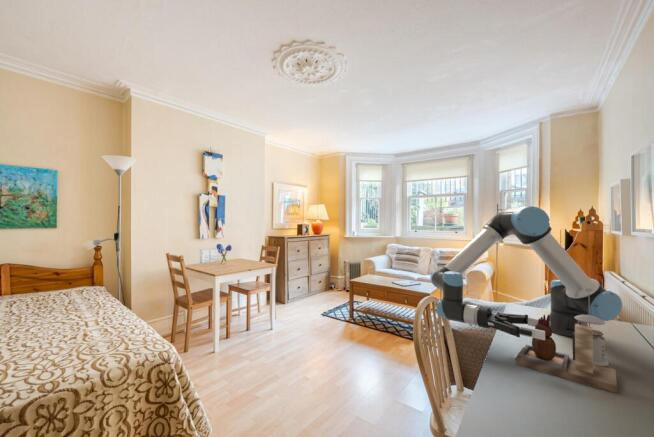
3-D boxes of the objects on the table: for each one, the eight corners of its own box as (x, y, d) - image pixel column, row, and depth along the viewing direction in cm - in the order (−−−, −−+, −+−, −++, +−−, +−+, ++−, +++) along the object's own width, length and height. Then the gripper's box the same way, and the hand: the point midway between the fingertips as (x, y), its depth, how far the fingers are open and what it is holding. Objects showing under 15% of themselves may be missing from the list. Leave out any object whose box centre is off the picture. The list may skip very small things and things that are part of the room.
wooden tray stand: (515, 363, 96) (515, 318, 97) (523, 352, 106) (522, 311, 106) (617, 393, 80) (616, 338, 80) (615, 376, 89) (614, 327, 90)
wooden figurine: (559, 363, 92) (559, 316, 93) (539, 361, 93) (539, 315, 94) (547, 354, 99) (547, 310, 99) (529, 352, 100) (528, 309, 101)
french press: (579, 362, 98) (578, 289, 99) (564, 349, 109) (563, 283, 110) (616, 367, 94) (614, 291, 95) (597, 353, 105) (596, 285, 106)
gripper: (487, 318, 119) (552, 332, 105) (467, 334, 101) (542, 353, 86) (487, 300, 119) (552, 311, 105) (467, 313, 101) (542, 328, 87)
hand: (548, 330), depth 96 cm, fingers open, 13 cm apart
